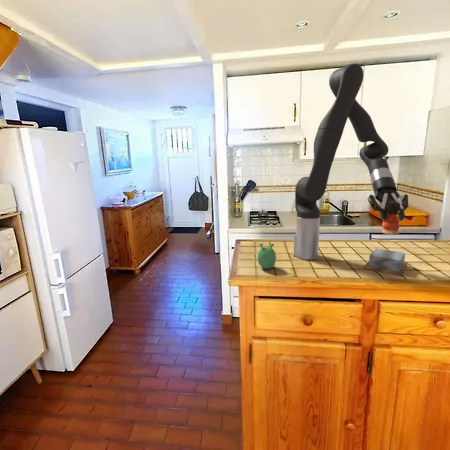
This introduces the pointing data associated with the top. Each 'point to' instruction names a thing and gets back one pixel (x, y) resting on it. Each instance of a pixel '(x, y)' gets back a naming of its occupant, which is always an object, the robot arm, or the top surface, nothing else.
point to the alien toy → (266, 256)
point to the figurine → (391, 218)
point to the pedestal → (387, 262)
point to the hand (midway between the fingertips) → (393, 219)
